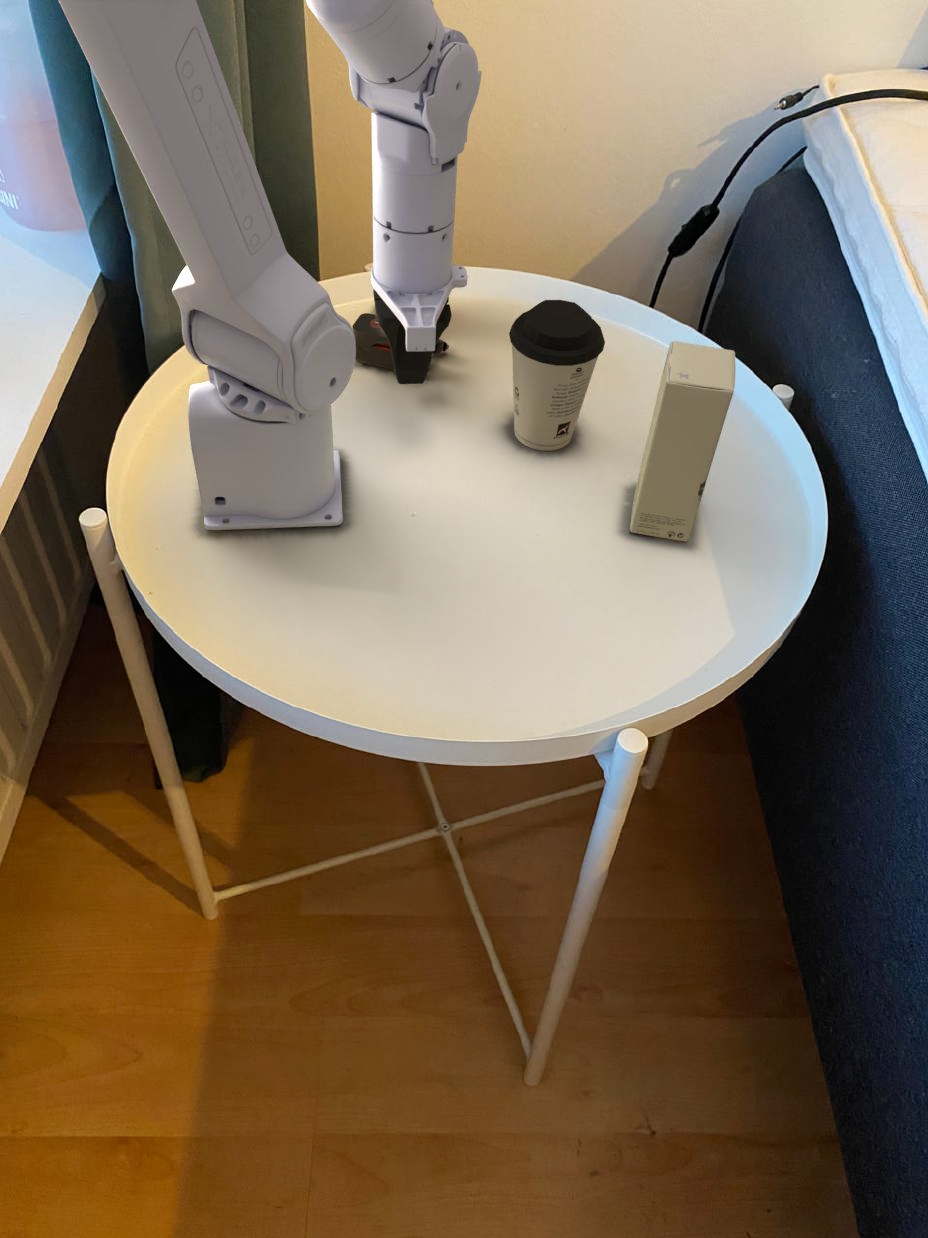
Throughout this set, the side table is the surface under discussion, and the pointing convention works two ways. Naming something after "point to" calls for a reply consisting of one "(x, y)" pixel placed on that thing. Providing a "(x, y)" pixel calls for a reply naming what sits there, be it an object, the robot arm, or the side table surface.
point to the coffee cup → (552, 371)
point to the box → (682, 439)
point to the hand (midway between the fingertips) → (410, 378)
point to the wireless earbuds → (378, 343)
